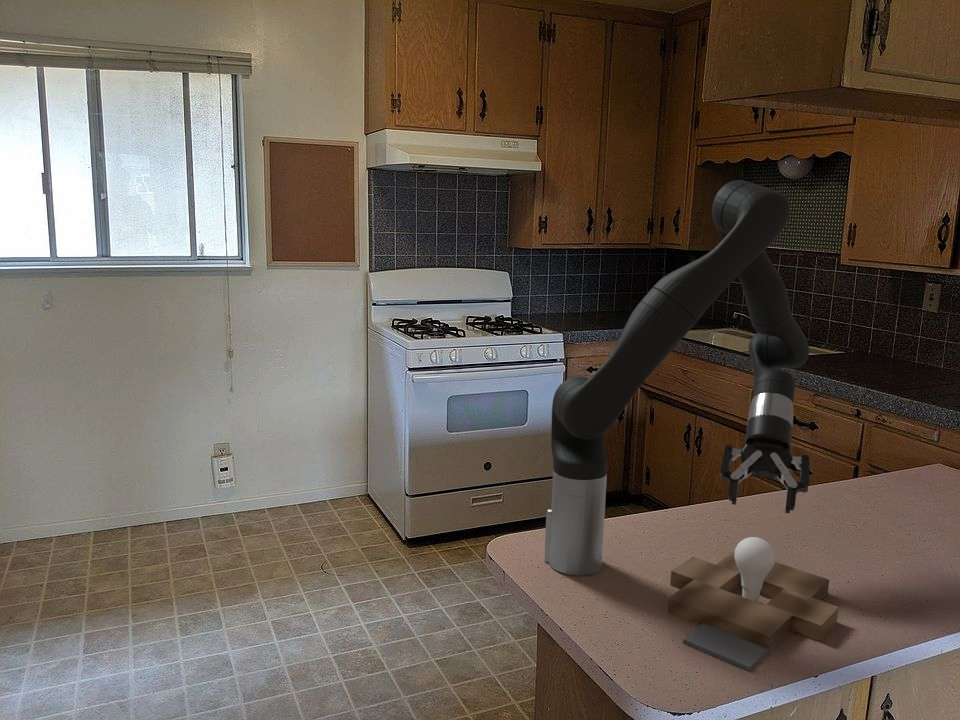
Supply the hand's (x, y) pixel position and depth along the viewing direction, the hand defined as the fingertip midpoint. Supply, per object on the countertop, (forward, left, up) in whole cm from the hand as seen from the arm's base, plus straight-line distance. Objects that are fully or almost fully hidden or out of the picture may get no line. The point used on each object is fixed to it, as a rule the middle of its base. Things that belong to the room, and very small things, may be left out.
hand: (760, 507), depth 130 cm
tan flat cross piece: (+3, -8, -13) cm, 16 cm away
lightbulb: (+3, -8, -13) cm, 16 cm away
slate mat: (+6, -22, -13) cm, 26 cm away
